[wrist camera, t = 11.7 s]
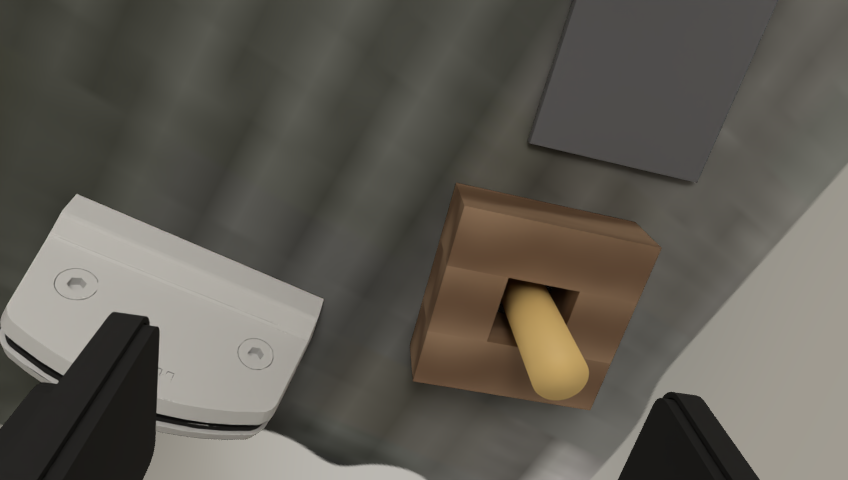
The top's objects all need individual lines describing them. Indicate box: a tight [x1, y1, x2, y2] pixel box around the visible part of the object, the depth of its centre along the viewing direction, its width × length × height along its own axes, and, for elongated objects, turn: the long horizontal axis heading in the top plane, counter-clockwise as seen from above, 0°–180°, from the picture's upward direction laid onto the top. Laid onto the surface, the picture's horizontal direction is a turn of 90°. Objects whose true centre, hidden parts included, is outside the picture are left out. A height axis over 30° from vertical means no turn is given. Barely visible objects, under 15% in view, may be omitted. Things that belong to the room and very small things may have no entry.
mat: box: [528, 0, 778, 183], centre depth 35 cm, size 11×11×1 cm
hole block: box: [410, 183, 661, 410], centre depth 39 cm, size 12×12×4 cm
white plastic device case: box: [0, 194, 324, 440], centre depth 36 cm, size 17×5×10 cm, turn 61°
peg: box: [501, 278, 589, 400], centre depth 36 cm, size 3×3×10 cm
